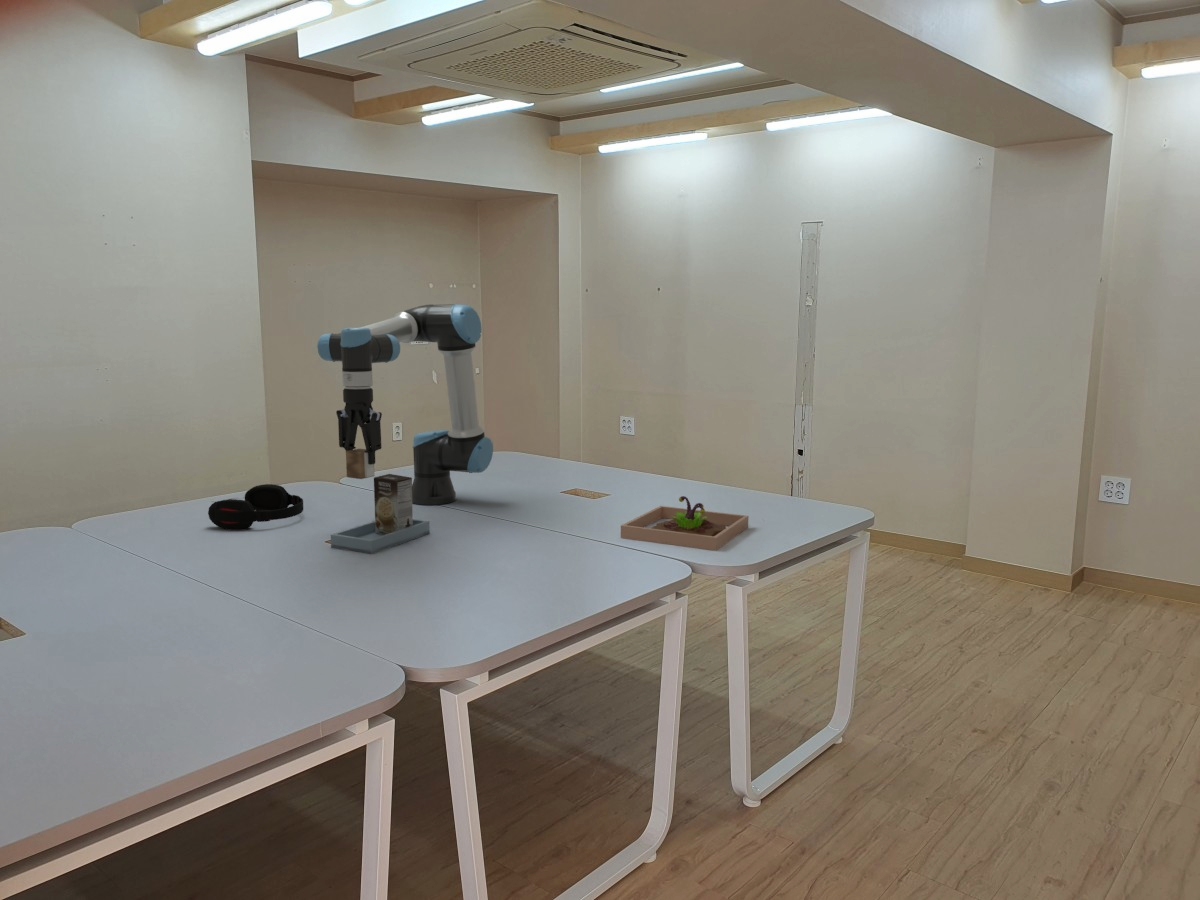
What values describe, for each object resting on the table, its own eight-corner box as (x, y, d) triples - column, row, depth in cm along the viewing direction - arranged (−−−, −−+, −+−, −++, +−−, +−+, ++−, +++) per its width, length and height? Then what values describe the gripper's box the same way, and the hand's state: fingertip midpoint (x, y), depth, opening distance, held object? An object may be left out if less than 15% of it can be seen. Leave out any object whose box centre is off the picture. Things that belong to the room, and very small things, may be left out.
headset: (213, 513, 272) (211, 485, 271) (302, 506, 281) (301, 479, 279) (207, 535, 246) (204, 504, 244) (305, 527, 255) (303, 497, 253)
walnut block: (346, 477, 229) (345, 450, 228) (360, 474, 234) (359, 448, 233) (361, 479, 227) (360, 452, 226) (374, 476, 232) (373, 450, 230)
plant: (679, 523, 262) (679, 486, 260) (736, 534, 250) (737, 495, 248) (639, 536, 246) (640, 498, 244) (698, 548, 234) (699, 507, 232)
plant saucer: (620, 537, 243) (620, 525, 243) (660, 516, 268) (660, 505, 267) (715, 550, 231) (716, 537, 230) (748, 527, 255) (748, 515, 255)
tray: (331, 547, 233) (330, 534, 232) (391, 527, 254) (390, 515, 253) (371, 554, 226) (371, 541, 226) (429, 533, 247) (429, 521, 247)
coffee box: (374, 533, 244) (371, 477, 241) (390, 528, 249) (388, 473, 247) (398, 538, 239) (396, 480, 237) (414, 533, 245) (412, 476, 242)
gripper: (321, 387, 228) (325, 474, 231) (374, 390, 220) (378, 480, 223) (341, 384, 234) (345, 470, 238) (394, 387, 226) (397, 476, 230)
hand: (361, 475), depth 231 cm, fingers closed on walnut block, 5 cm apart
